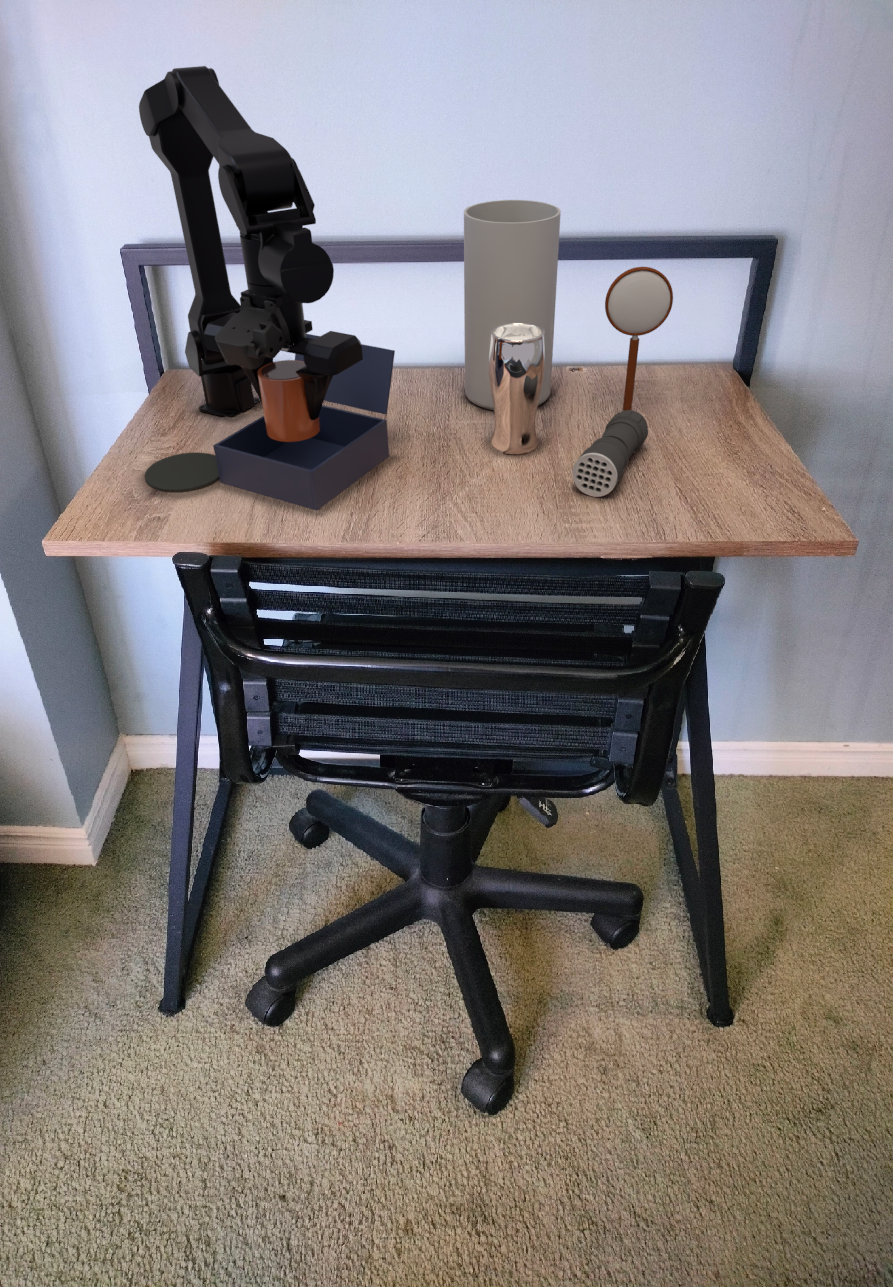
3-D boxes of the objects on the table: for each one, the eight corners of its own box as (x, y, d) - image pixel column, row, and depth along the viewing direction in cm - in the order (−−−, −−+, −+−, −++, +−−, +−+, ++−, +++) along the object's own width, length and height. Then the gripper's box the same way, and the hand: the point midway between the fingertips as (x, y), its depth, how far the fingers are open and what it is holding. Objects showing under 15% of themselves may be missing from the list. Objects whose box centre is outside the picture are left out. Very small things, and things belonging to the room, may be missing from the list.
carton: (297, 435, 122) (292, 398, 118) (389, 458, 116) (386, 419, 113) (220, 485, 111) (213, 445, 108) (317, 513, 105) (312, 471, 102)
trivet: (128, 484, 112) (127, 478, 111) (184, 451, 119) (182, 446, 118) (189, 502, 108) (187, 496, 107) (242, 468, 115) (241, 462, 114)
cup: (255, 435, 108) (245, 374, 103) (288, 415, 112) (280, 356, 107) (298, 446, 105) (290, 384, 100) (330, 425, 109) (324, 365, 105)
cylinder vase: (447, 398, 131) (443, 213, 115) (500, 372, 138) (504, 195, 122) (515, 421, 124) (521, 228, 109) (567, 393, 131) (579, 208, 116)
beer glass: (537, 458, 115) (542, 342, 106) (484, 454, 116) (484, 339, 107) (543, 435, 120) (549, 323, 111) (492, 431, 122) (493, 320, 112)
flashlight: (608, 440, 119) (612, 402, 115) (648, 448, 117) (653, 409, 114) (570, 491, 108) (573, 450, 105) (613, 500, 106) (618, 459, 103)
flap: (291, 393, 118) (293, 393, 118) (385, 414, 112) (387, 414, 112) (297, 332, 115) (298, 332, 115) (393, 350, 109) (395, 350, 110)
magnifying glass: (595, 419, 124) (608, 269, 112) (594, 414, 125) (607, 265, 113) (658, 419, 124) (678, 268, 111) (656, 414, 125) (676, 264, 113)
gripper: (157, 287, 96) (186, 423, 105) (296, 313, 88) (314, 457, 98) (225, 261, 103) (247, 390, 113) (359, 282, 96) (370, 418, 106)
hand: (291, 413), depth 107 cm, fingers closed on cup, 6 cm apart
